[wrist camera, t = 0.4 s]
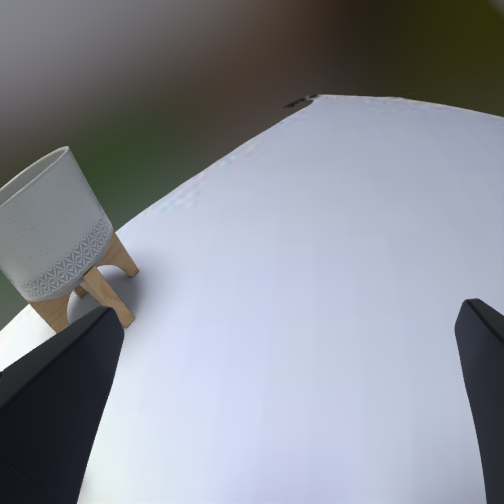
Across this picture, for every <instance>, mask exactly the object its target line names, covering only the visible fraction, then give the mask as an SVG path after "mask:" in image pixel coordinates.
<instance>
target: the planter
mask: <svg viewBox="0 0 504 504" xmlns="http://www.w3.org/2000/svg"><path fill="white" fill-rule="evenodd" d="M103 265H115V266H117V267H119V268H120V269H122V270H123V271H124V272H125V274H126V275H128V276H131V277H133V276H134V275H135V274H136V273H137V272H138V271H139V269H138V268H137V266H136V265H135V263H134V262H133V260H132V259H131V257H130V256H129V254H128V253H127V251H126V249H125V248H124V246H123V245H122V243H121V242H120V240H119V238H118V237H117V235H116V234H115V232H114V231H113V229H112V224H111V222H110V221H109V219H108V217H107V216H106V214H105V212H104V211H103V209H102V207H101V206H100V204H99V202H98V200H97V198H96V197H95V195H94V193H93V191H92V190H91V188H90V186H89V184H88V183H87V181H86V179H85V177H84V175H83V174H82V172H81V170H80V168H79V166H78V164H77V162H76V160H75V159H74V157H73V155H72V153H71V151H70V149H69V147H67V146H66V147H62V148H59V149H57V150H55V151H53V152H51V153H50V154H48V155H46V156H44V157H43V158H41V159H39V160H38V161H36V162H35V163H33V164H32V165H30V166H29V167H28V168H26V169H25V170H23V171H22V172H21V173H19V174H18V175H17V176H16V177H14V178H13V179H12V180H10V181H9V182H8V183H7V184H6V185H4V187H2V188H1V189H0V269H1V270H2V271H3V273H4V274H5V275H6V277H7V278H8V279H9V280H10V281H11V283H12V284H13V285H14V286H15V287H16V289H17V290H18V291H19V292H20V293H21V295H22V296H23V297H24V298H25V299H26V301H27V302H28V303H29V304H30V305H31V306H32V307H33V309H34V310H35V311H36V312H37V313H38V314H39V315H40V316H41V317H42V318H43V319H44V320H45V322H46V323H47V324H48V325H49V326H50V327H51V328H52V329H53V330H54V331H55V332H56V333H59V332H60V331H62V330H63V329H65V328H66V327H68V326H69V324H68V320H67V305H68V301H69V297H70V295H71V292H72V291H73V292H74V293H75V294H76V295H77V296H78V297H80V298H81V297H82V296H83V295H84V294H85V293H86V292H89V293H90V294H91V295H92V296H93V297H94V298H95V299H96V300H97V301H98V302H99V303H100V304H101V305H102V306H109V307H113V308H114V309H115V311H116V313H117V315H118V317H119V320H120V322H121V324H122V326H123V327H125V328H127V327H128V326H129V325H130V324H131V323H132V321H133V320H134V319H135V317H134V316H133V315H132V313H131V312H130V311H129V310H128V308H127V307H126V306H125V305H124V303H123V302H122V301H121V300H120V298H119V297H118V296H117V294H116V293H115V292H114V290H113V289H112V288H111V286H110V285H109V284H108V282H107V281H106V280H105V278H104V277H103V276H102V274H101V273H100V272H99V270H98V269H97V267H99V266H103Z"/></svg>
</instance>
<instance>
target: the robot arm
mask: <svg viewBox="0 0 504 504" xmlns="http://www.w3.org/2000/svg"><path fill="white" fill-rule="evenodd" d="M455 336H456V341H457V346H458V351H459V356H460V361H461V366H462V372H463V378H464V383H465V387H466V391H467V395H468V399H469V403H470V407H471V411H472V415H473V420H474V424H475V429H476V434H477V439H478V444H479V450H480V456H481V462H482V468H483V476H484V483H485V492H486V502H487V504H504V316H503V315H502V314H500V313H499V312H498V311H496V310H495V309H493V308H492V307H490V306H489V305H487V304H486V303H484V302H483V301H482V300H480V299H477V298H475V299H466V300H465V301H464V302H463V303H462V306H461V309H460V312H459V315H458V317H457V320H456V323H455ZM123 340H124V329H123V326H122V324H121V322H120V320H119V317H118V315H117V313H116V311H115V309H114V308H113V307H109V306H99V307H97V308H96V309H94V310H93V311H91V312H89V313H88V314H86V315H85V316H83V317H82V318H80V319H79V320H77V321H76V322H74V323H72V324H71V325H69V326H68V327H66V328H65V329H63V330H62V331H60V332H59V333H57V334H56V335H54V336H53V337H51V338H50V339H48V340H47V341H45V342H44V343H42V344H41V345H39V346H38V347H36V348H35V349H33V350H32V351H30V352H29V353H27V354H26V355H24V356H23V357H21V358H20V359H18V360H17V361H16V362H14V363H13V364H11V365H10V366H8V367H7V368H5V369H4V370H3V372H2V371H1V372H0V504H77V501H78V497H79V493H80V489H81V485H82V482H83V478H84V474H85V471H86V467H87V463H88V460H89V456H90V453H91V450H92V446H93V443H94V440H95V436H96V433H97V430H98V427H99V424H100V420H101V417H102V414H103V411H104V408H105V405H106V402H107V399H108V396H109V393H110V390H111V387H112V384H113V380H114V376H115V372H116V368H117V364H118V360H119V356H120V352H121V348H122V344H123Z"/></svg>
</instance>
